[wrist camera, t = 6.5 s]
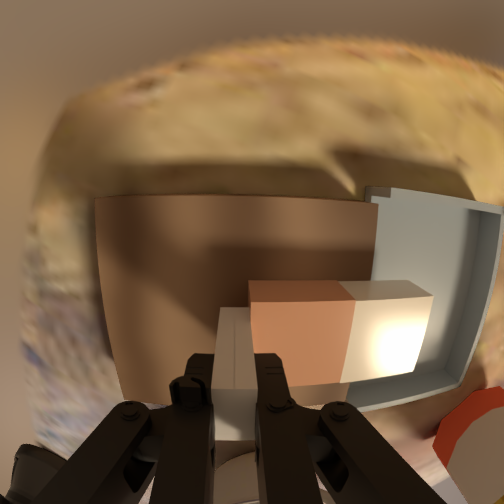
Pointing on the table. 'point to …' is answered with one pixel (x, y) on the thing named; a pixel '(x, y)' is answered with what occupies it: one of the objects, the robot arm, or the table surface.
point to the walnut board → (213, 272)
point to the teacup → (242, 482)
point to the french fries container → (475, 446)
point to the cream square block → (385, 328)
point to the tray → (434, 284)
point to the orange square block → (302, 326)
